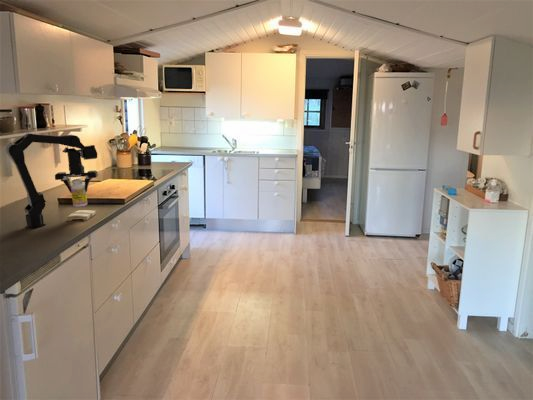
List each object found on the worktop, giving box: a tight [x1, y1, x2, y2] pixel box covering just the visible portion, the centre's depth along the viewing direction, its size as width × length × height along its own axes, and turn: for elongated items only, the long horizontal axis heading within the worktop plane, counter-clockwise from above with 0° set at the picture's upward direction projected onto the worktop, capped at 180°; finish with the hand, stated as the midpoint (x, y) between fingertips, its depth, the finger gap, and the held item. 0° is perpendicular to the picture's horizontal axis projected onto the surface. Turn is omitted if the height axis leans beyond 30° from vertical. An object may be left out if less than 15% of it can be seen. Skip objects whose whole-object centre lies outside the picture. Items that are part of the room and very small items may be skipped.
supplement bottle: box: [71, 178, 88, 207], centre depth 217 cm, size 7×7×13 cm
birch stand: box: [66, 209, 98, 222], centre depth 220 cm, size 12×10×2 cm
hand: (78, 192), depth 217 cm, fingers closed on supplement bottle, 7 cm apart
